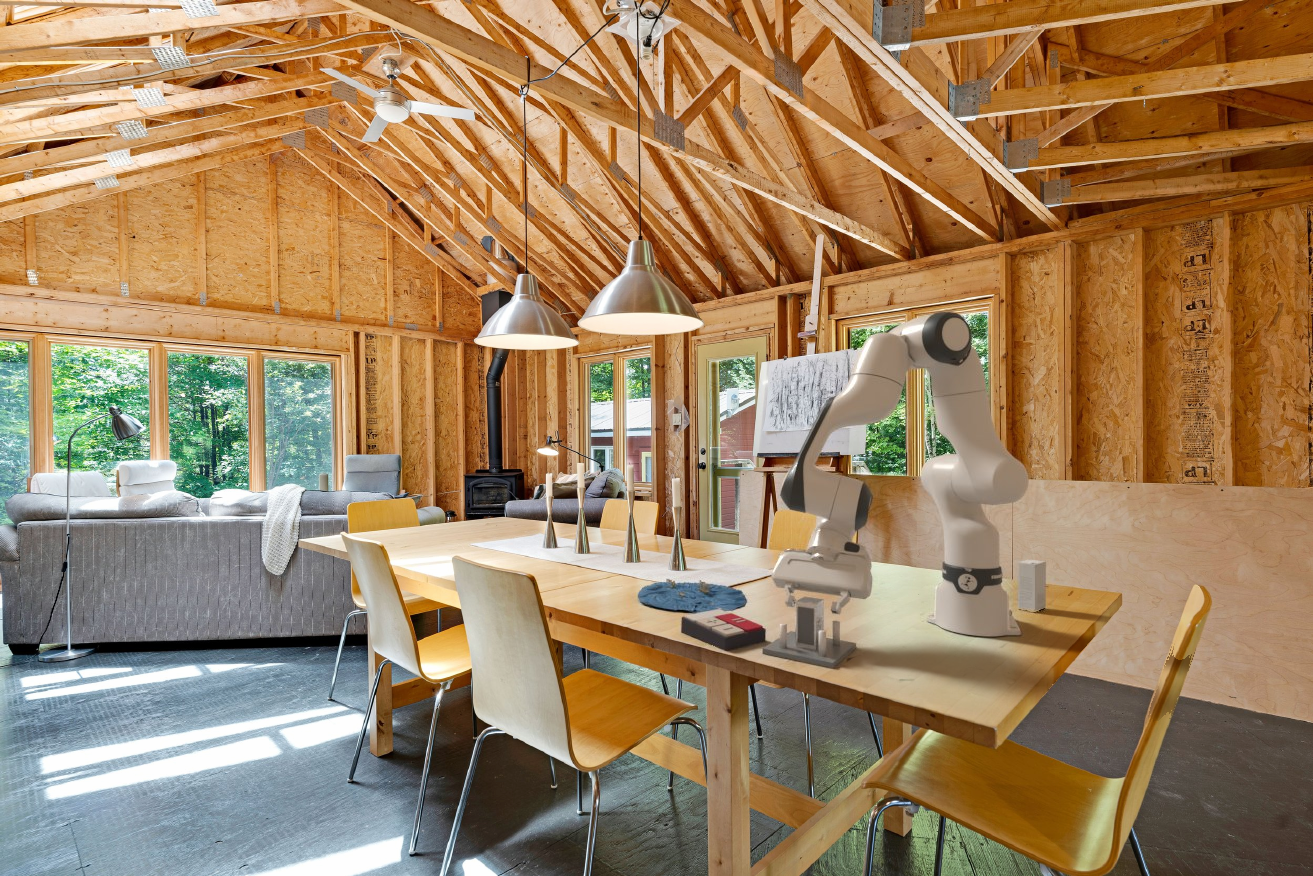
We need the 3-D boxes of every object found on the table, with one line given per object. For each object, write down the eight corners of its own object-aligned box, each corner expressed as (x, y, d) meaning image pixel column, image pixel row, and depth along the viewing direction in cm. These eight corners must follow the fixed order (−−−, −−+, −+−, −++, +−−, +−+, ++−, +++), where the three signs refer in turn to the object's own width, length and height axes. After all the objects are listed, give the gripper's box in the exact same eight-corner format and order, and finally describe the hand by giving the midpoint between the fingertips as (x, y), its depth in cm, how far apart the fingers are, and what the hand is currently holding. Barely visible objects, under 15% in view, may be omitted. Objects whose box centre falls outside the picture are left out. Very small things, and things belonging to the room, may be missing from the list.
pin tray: (790, 635, 132) (790, 610, 132) (856, 648, 124) (856, 620, 124) (762, 653, 120) (762, 625, 120) (832, 668, 112) (832, 638, 112)
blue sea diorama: (771, 604, 165) (772, 584, 165) (700, 626, 143) (701, 603, 143) (688, 582, 185) (689, 565, 185) (614, 598, 163) (615, 579, 163)
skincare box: (1027, 606, 157) (1027, 558, 157) (1047, 609, 153) (1046, 561, 153) (1016, 609, 153) (1016, 561, 153) (1036, 613, 150) (1036, 564, 150)
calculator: (726, 634, 121) (680, 613, 134) (725, 656, 121) (680, 633, 134) (767, 625, 128) (719, 606, 140) (766, 646, 128) (718, 625, 140)
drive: (804, 641, 125) (804, 596, 125) (823, 644, 122) (823, 599, 123) (795, 647, 121) (795, 601, 121) (815, 651, 119) (815, 604, 119)
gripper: (778, 539, 135) (759, 592, 126) (873, 547, 123) (859, 607, 115) (786, 556, 138) (768, 609, 130) (879, 566, 126) (866, 625, 118)
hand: (811, 608), depth 122 cm, fingers open, 8 cm apart
